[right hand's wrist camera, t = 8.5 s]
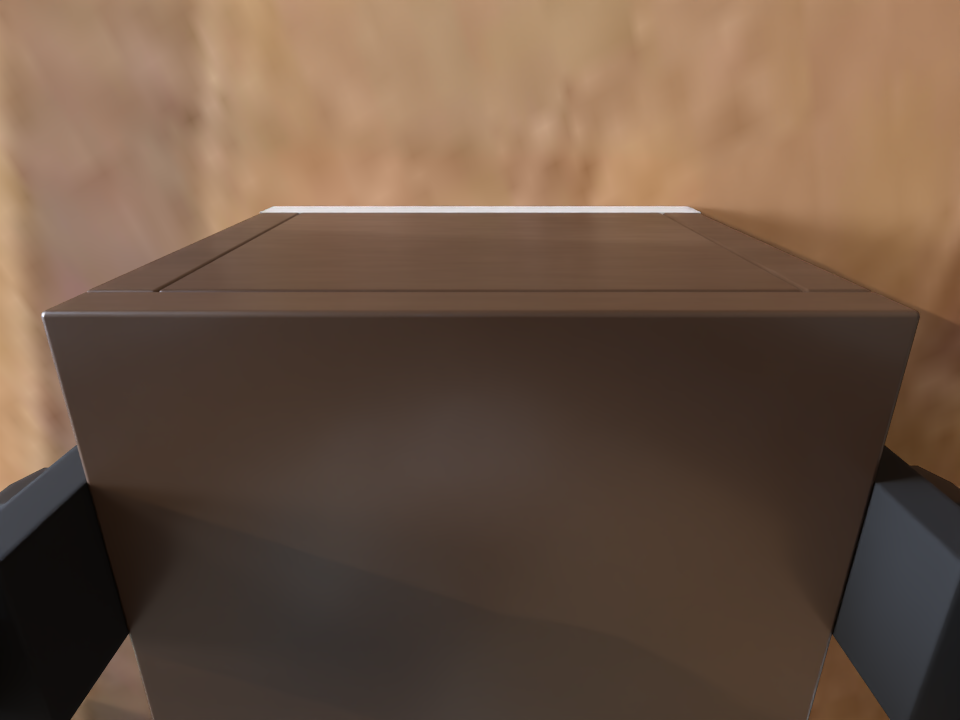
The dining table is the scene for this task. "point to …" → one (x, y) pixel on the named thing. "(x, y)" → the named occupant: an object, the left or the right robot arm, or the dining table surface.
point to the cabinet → (480, 463)
